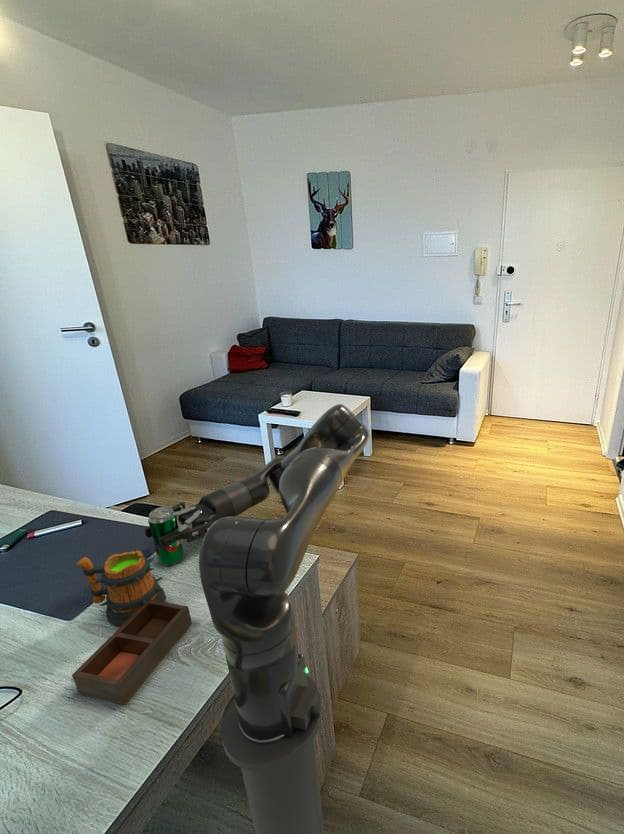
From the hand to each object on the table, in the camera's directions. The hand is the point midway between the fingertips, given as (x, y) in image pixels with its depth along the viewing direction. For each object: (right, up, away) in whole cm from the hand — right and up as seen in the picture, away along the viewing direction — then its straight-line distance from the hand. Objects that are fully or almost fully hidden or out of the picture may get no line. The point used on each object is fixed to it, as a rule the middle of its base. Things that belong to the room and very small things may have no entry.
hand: (152, 538), depth 89 cm
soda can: (+1, -6, +5) cm, 8 cm away
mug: (+1, -11, -9) cm, 14 cm away
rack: (+8, -15, -18) cm, 25 cm away
